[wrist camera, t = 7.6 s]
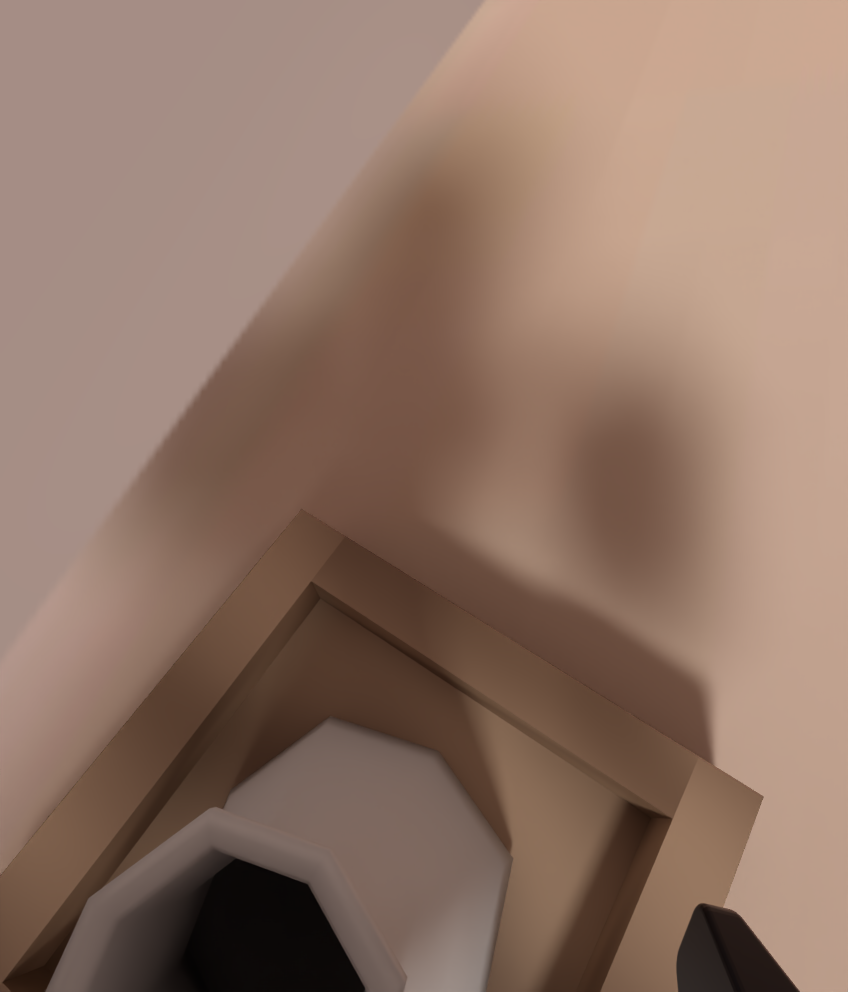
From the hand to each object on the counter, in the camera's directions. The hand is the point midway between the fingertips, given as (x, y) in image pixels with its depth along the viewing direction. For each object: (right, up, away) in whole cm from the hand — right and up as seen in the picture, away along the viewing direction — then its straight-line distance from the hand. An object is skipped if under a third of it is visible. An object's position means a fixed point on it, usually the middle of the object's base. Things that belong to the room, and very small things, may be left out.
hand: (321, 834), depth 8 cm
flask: (0, -5, +7) cm, 8 cm away
